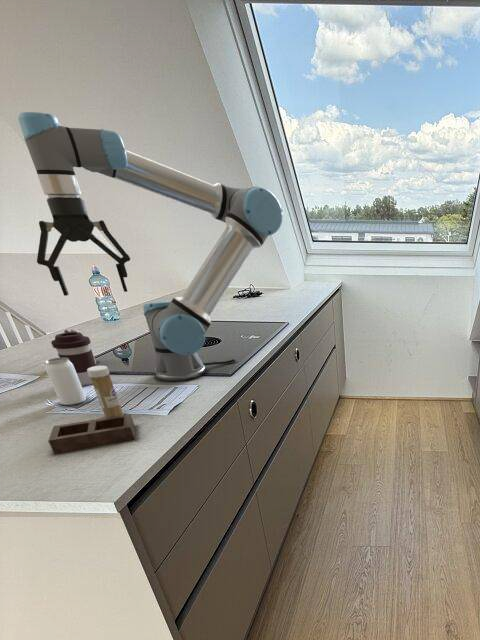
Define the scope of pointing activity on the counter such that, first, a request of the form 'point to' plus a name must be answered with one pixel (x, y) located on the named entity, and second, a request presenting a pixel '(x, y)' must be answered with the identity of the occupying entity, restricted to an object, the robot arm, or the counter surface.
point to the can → (65, 381)
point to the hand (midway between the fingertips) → (96, 293)
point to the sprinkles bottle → (105, 391)
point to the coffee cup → (76, 353)
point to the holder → (92, 433)
